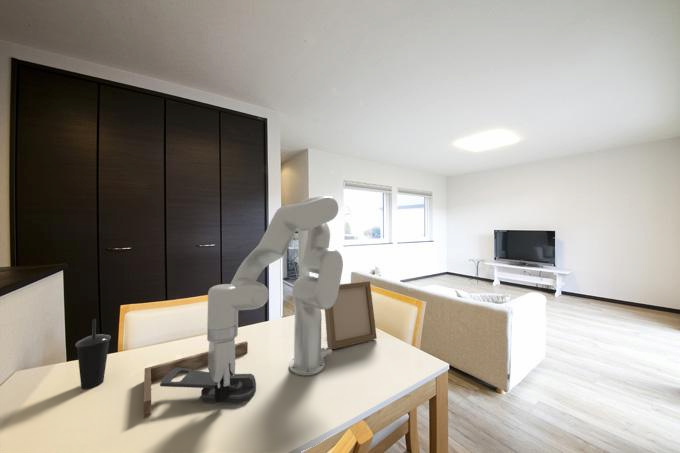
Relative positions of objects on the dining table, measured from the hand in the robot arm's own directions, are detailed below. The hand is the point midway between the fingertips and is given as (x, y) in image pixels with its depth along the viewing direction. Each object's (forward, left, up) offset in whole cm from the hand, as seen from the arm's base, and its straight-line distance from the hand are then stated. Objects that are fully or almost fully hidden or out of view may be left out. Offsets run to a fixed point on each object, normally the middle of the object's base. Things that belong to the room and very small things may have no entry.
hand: (221, 399), depth 66 cm
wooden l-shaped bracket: (0, -18, -2) cm, 18 cm away
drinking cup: (+29, -35, -3) cm, 45 cm away
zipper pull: (+1, -7, -3) cm, 8 cm away
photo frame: (-54, -12, -3) cm, 55 cm away
